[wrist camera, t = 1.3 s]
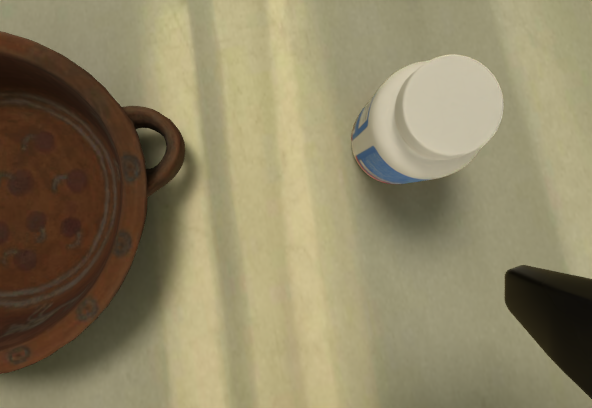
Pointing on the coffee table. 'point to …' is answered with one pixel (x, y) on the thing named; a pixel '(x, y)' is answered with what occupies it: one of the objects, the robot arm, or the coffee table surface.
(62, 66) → the dish
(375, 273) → the coffee table surface
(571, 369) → the robot arm
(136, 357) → the coffee table surface
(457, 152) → the pill bottle
